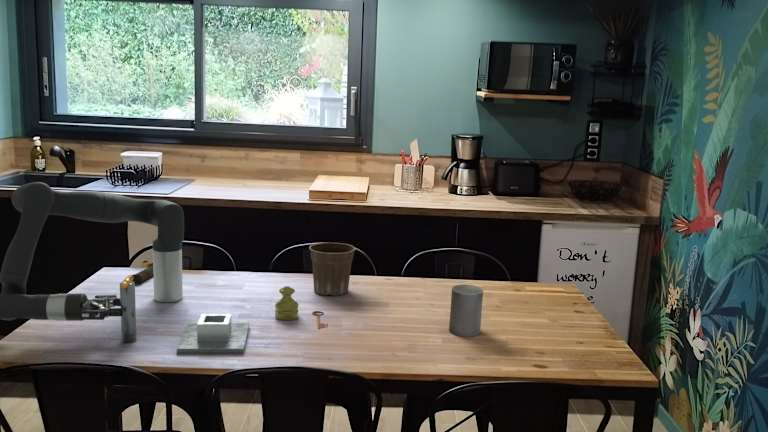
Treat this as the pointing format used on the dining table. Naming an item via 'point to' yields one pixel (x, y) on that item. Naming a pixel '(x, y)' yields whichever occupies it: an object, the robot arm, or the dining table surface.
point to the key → (319, 319)
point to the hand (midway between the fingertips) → (126, 307)
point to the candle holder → (214, 336)
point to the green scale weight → (286, 305)
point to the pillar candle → (466, 310)
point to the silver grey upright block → (128, 310)
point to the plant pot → (331, 267)
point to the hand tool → (143, 275)
